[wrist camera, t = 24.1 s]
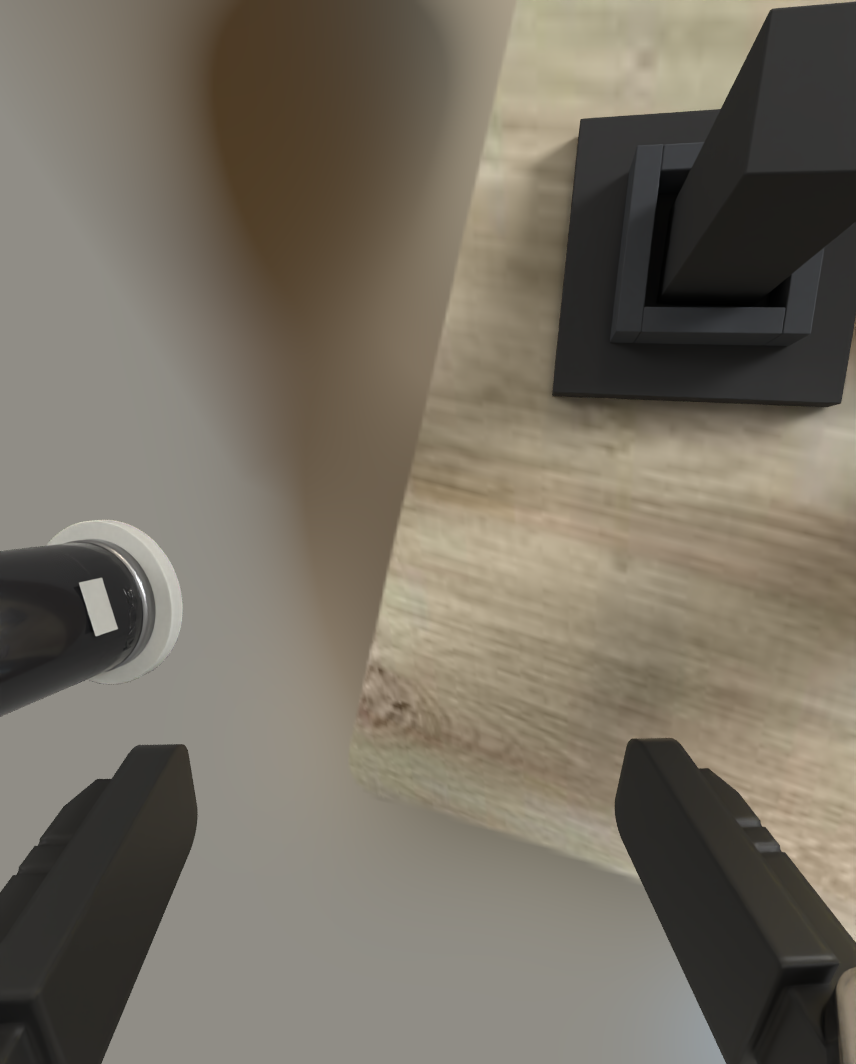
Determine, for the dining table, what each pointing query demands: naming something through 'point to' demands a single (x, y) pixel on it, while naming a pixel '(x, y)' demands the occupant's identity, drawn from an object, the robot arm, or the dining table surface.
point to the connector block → (770, 165)
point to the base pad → (678, 329)
